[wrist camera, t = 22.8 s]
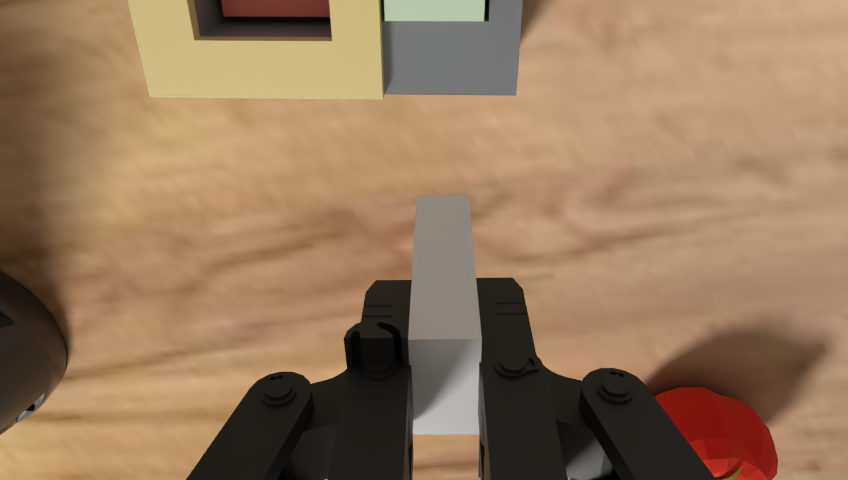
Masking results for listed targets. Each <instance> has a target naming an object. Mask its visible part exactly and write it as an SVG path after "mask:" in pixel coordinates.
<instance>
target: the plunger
mask: <svg viewBox="0 0 848 480" xmlns="http://www.w3.org/2000/svg"><path fill="white" fill-rule="evenodd" d="M221 2H222V8H223V14H224V16H253V17H330V6H329V0H221Z"/></svg>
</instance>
